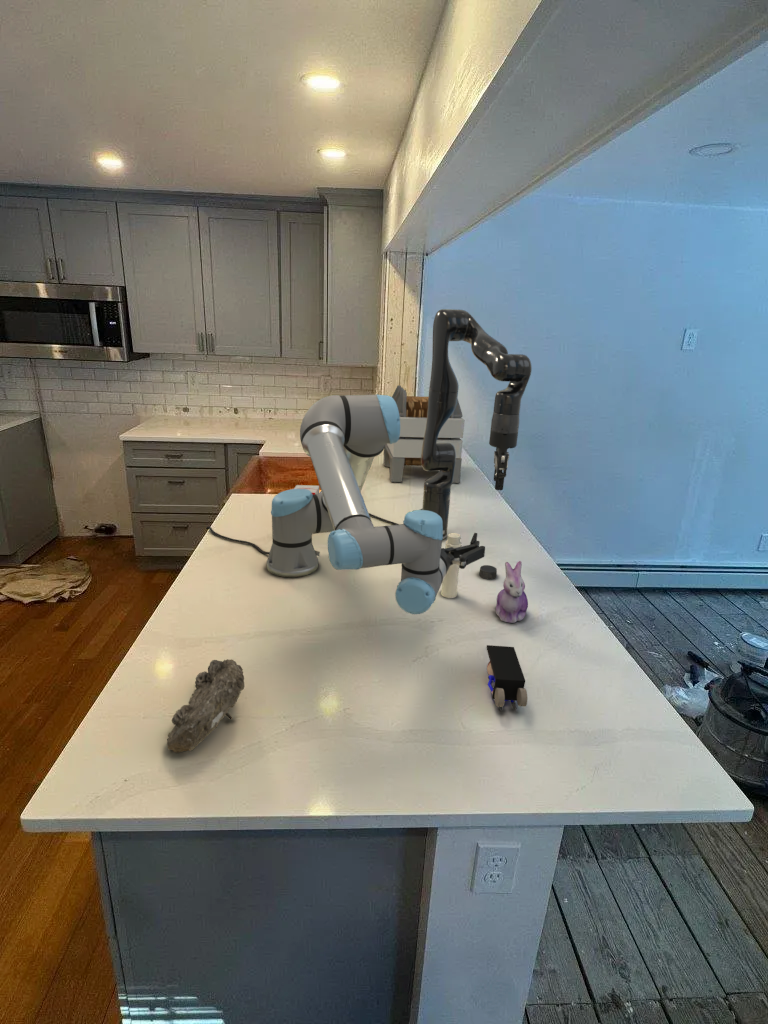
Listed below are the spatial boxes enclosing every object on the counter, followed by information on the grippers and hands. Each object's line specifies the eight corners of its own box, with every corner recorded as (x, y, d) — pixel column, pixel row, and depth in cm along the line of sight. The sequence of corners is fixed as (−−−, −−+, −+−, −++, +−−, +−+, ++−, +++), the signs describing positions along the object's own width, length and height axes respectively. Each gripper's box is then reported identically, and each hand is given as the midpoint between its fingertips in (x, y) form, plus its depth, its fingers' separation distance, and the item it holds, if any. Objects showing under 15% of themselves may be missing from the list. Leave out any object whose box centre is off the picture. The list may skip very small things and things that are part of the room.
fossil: (192, 660, 117) (244, 628, 112) (224, 691, 120) (276, 661, 115) (142, 746, 98) (202, 712, 93) (182, 779, 101) (242, 748, 96)
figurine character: (526, 722, 112) (510, 670, 126) (532, 694, 109) (515, 643, 122) (492, 722, 112) (480, 669, 125) (498, 693, 109) (484, 642, 122)
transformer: (382, 463, 289) (386, 382, 275) (445, 464, 293) (451, 384, 279) (390, 482, 257) (394, 392, 243) (460, 483, 261) (468, 394, 247)
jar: (459, 594, 159) (465, 535, 153) (450, 599, 156) (456, 539, 150) (447, 589, 162) (452, 531, 156) (438, 594, 159) (443, 535, 153)
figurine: (509, 627, 143) (516, 574, 138) (485, 609, 151) (491, 558, 146) (538, 620, 147) (546, 567, 142) (512, 602, 156) (519, 552, 151)
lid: (476, 576, 170) (477, 569, 170) (483, 570, 174) (483, 563, 174) (492, 581, 168) (493, 573, 167) (498, 575, 172) (499, 567, 171)
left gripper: (374, 574, 127) (399, 540, 146) (485, 593, 121) (496, 555, 140) (375, 543, 125) (401, 512, 144) (489, 561, 118) (500, 527, 137)
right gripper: (489, 423, 163) (484, 477, 169) (491, 433, 150) (485, 491, 155) (516, 425, 162) (509, 479, 168) (520, 435, 149) (513, 494, 154)
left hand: (448, 533), depth 142 cm, fingers open, 13 cm apart
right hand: (497, 485), depth 162 cm, fingers open, 8 cm apart
